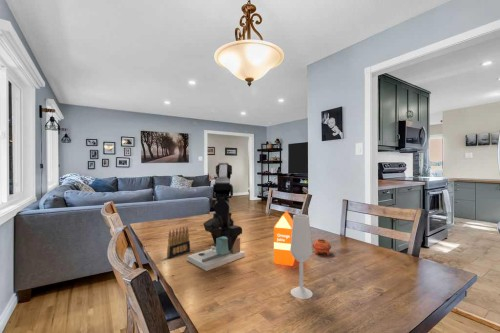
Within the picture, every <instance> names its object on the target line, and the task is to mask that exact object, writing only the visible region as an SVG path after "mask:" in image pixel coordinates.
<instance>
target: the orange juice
mask: <svg viewBox="0 0 500 333" xmlns="http://www.w3.org/2000/svg"><path fill="white" fill-rule="evenodd" d="M292 225H293V217H291V215H290V214H289V212H288V210H286V211H284V213H283V214H282V215H281V216H280V218H279V220H278V221H277V223H275V225H274V227H273V261H274V262H273V264H278V265H284V266H291V267H292V266H293V265H294V264H295V263H294V262H295V261H296V259H295V258H294V257H293V255H292V254H291V252H290V248H291V237H292Z"/></svg>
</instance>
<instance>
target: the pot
mask: <svg viewBox="0 0 500 333" xmlns="http://www.w3.org/2000/svg"><path fill="white" fill-rule="evenodd" d="M312 249H314V252H315V254H316V255H318V254H319V253H321V254H322V253H323V254H324V253H326V255H327V256H329V254H330V250H331V249H332V246H331V244H330V243H329V242H328V241H327V240H326V239H323V238H321V239H320V238H319V239H317V240H315V241H314V243H312Z"/></svg>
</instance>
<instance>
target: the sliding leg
mask: <svg viewBox="0 0 500 333" xmlns="http://www.w3.org/2000/svg"><path fill="white" fill-rule="evenodd" d="M210 249H212V250H216V253H218V254H221V255H224V254H227V253H230V251H229V250H228V239H227V237H224V236H223V237H219V238H216V245H215V246H214V245H211V246H210Z"/></svg>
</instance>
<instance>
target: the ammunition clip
mask: <svg viewBox="0 0 500 333" xmlns="http://www.w3.org/2000/svg"><path fill="white" fill-rule="evenodd" d="M190 244H191V243H190V234H189V226H188V225H186V227H185V226H183V227H182V228H181V227H180V228H179V229H178V228H176V229H174V228H173V229H172V231H171V229H170V230H169V232H168V240H167V254H166V255H167V256H166V257H167V258H168V259H172V258H176V257H178V256H181V255H184V254H187V253H190V252H191V245H190Z"/></svg>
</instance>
